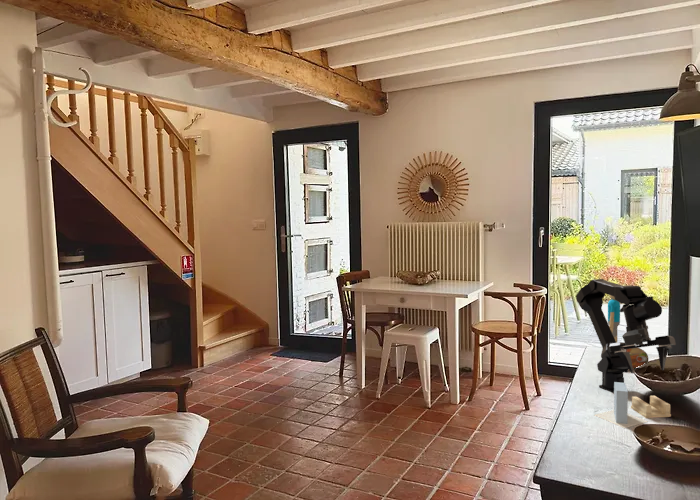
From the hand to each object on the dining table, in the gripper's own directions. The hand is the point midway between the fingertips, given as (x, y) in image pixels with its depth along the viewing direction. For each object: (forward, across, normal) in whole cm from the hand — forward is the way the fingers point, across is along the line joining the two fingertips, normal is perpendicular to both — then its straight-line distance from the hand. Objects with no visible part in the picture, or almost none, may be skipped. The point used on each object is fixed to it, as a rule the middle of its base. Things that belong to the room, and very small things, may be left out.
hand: (647, 371), depth 173 cm
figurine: (-8, -27, +48) cm, 56 cm away
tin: (-4, -21, +40) cm, 45 cm away
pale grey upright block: (+13, -7, -11) cm, 19 cm away
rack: (+13, -2, 0) cm, 13 cm away
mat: (+14, -7, -11) cm, 19 cm away
